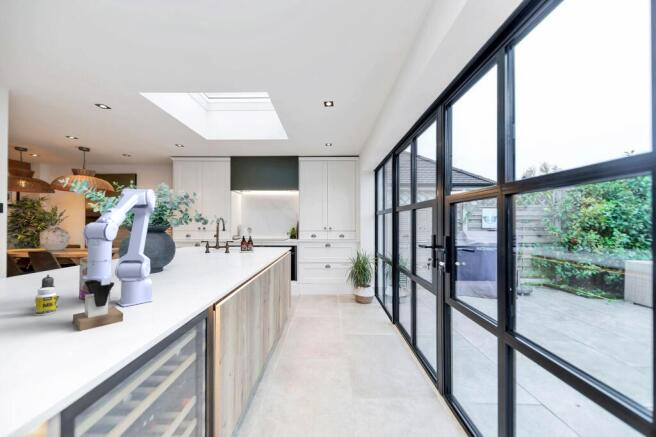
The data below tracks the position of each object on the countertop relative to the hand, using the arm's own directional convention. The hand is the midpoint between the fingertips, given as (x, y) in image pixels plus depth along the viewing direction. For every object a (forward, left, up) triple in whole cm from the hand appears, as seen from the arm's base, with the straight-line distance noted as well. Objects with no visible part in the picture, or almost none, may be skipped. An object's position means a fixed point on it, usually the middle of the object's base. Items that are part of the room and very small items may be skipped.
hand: (98, 304), depth 82 cm
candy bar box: (-5, -30, -6) cm, 31 cm away
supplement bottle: (+9, -22, -6) cm, 24 cm away
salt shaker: (+8, -29, -6) cm, 31 cm away
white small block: (+1, 0, -3) cm, 3 cm away
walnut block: (0, 0, -6) cm, 6 cm away
